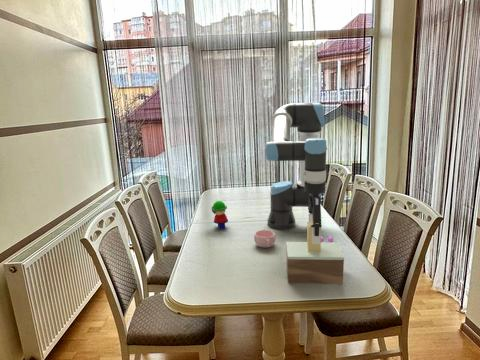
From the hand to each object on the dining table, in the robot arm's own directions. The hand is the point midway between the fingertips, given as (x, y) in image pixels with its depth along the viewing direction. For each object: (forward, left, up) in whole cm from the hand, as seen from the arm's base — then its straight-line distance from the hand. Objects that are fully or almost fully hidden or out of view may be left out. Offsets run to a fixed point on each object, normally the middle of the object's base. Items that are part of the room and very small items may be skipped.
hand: (313, 236), depth 127 cm
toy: (-49, -44, -16) cm, 68 cm away
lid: (0, 0, -8) cm, 8 cm away
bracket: (-17, +8, -16) cm, 25 cm away
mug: (-26, -19, -16) cm, 36 cm away
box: (0, 0, -16) cm, 16 cm away
